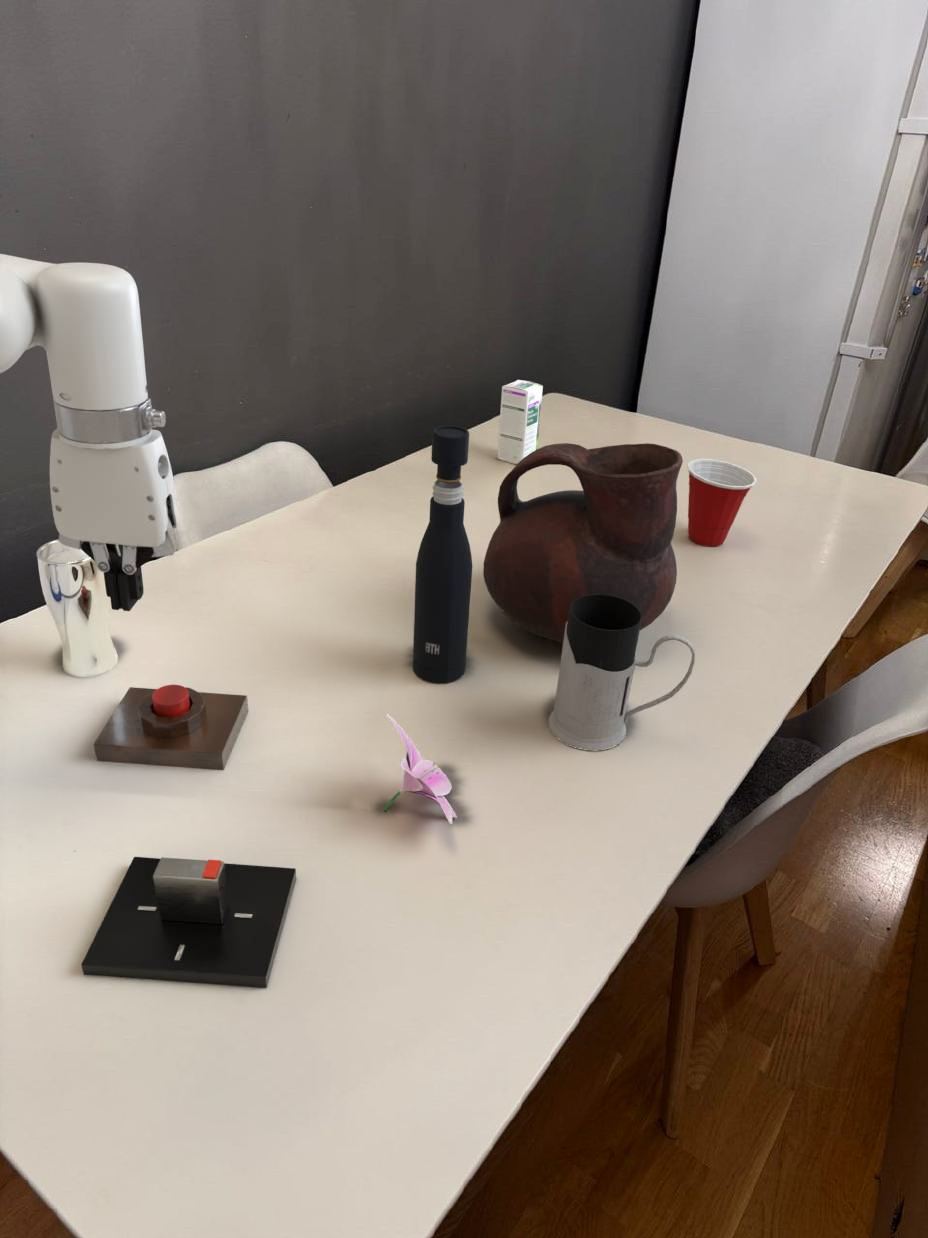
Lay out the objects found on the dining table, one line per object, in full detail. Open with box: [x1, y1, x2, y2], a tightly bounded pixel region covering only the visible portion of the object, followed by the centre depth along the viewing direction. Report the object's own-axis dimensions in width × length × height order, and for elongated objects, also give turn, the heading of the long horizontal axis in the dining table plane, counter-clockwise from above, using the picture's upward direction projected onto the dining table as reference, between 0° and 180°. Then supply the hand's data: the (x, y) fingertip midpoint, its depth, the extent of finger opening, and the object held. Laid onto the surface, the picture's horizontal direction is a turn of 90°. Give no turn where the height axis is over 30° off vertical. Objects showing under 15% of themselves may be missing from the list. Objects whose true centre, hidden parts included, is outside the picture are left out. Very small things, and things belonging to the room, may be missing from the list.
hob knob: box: [153, 857, 229, 924], centre depth 70 cm, size 5×2×5 cm, turn 88°
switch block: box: [93, 686, 249, 771], centre depth 93 cm, size 13×10×4 cm
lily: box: [382, 712, 458, 824], centre depth 84 cm, size 12×12×10 cm
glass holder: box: [548, 594, 696, 751], centre depth 95 cm, size 9×14×15 cm, turn 73°
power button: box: [152, 684, 190, 717], centre depth 92 cm, size 4×4×2 cm
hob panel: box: [80, 856, 297, 989], centre depth 72 cm, size 14×11×3 cm
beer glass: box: [36, 538, 119, 678], centre depth 100 cm, size 7×7×15 cm
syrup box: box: [497, 379, 544, 465], centre depth 167 cm, size 6×6×14 cm
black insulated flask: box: [412, 425, 473, 685], centre depth 100 cm, size 6×6×30 cm
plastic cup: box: [687, 458, 758, 547], centre depth 141 cm, size 11×11×12 cm
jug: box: [482, 442, 684, 644], centre depth 113 cm, size 25×25×25 cm
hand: (126, 603), depth 85 cm, fingers closed
